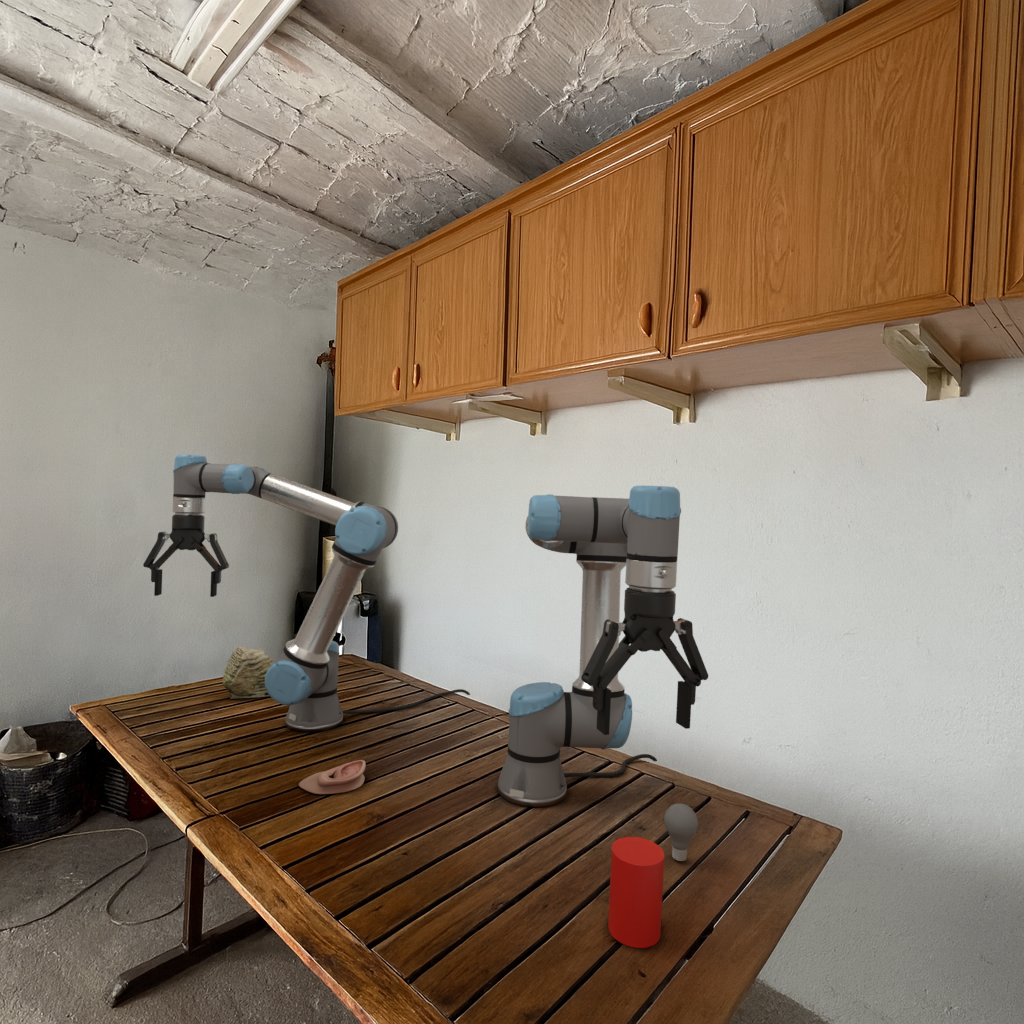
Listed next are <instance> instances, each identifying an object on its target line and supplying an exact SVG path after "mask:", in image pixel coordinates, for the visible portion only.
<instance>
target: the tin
mask: <svg viewBox="0 0 1024 1024" xmlns="http://www.w3.org/2000/svg"><path fill="white" fill-rule="evenodd" d="M610 856H611V857H610V875H609V876H610V878H609V880H610V881H609V897H608V898H609V899H608V900H609V901H608V916H607V917H608V918H607V920H608V921H607V928H608V932H609V934H610V935H611V937H613V938H614V939H615V940H616V941H617V942H619V943H621V944H622V945H625V946H627V947H630V948H636V949H646V948H647V949H648V948H650V947H653V946H655V945H657V943H659V941H660V939H661V933H662V915H663V914H662V913H663V897H664V896H663V893H664V875H665V874H664V870H665V852H664V849H662V847H661V846H660V845H658V844H657V843H656V842H654V841H651V840H649V839H647V838H642V837H637V836H625V837H624V836H623V837H620V838H618V839H616V840H614V842H613V843H612V845H611V854H610Z"/></svg>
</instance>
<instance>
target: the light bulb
mask: <svg viewBox="0 0 1024 1024" xmlns="http://www.w3.org/2000/svg"><path fill="white" fill-rule="evenodd" d="M663 822H664V828H665V829H666V831H667V833H668V835H669V838H670V844H671V846H672V847H671V848H672V849H671V857H672V858H673V859H674V860H676V861H678V862H684V861H686V860H687V855H688V848H689V846H690V844H691V843H690V842H691V841H692V838H693V837H694V836H695V834H696V833H697V831H698V827H699V820H698V816H697V814H696V812H695V811H694V810H693V809H692V808H691V807H690V806H689V805H688V804H684V803H680V802H679V803H673V804H671V805H670V806H669V807H668V808H667V809H666V811H665V814H664V816H663Z"/></svg>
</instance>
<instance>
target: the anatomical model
mask: <svg viewBox="0 0 1024 1024" xmlns="http://www.w3.org/2000/svg"><path fill="white" fill-rule="evenodd" d="M366 766H367V764H366V761H365V760H364V759H359V760H353V761H350V762H347V763H344V764H341V765H338V766H336V767H332V768H330V769H326V770H324V771H319V772H316V773H314V774H312V775H309V776H307V777H305V778H303V779H302V780H300V781H299V783H298V787H299V788H301V789H303V790H304V791H306V792H309V793H311V794H314V795H330V794H331V795H332V794H340V793H346V792H350V791H353V790H356V789H359V788H360V787H362V786H363V784H364V783H365V779H366V777H365V775H364V772H365V770H366Z"/></svg>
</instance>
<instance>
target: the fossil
mask: <svg viewBox="0 0 1024 1024" xmlns="http://www.w3.org/2000/svg"><path fill="white" fill-rule="evenodd" d="M274 663H275V662H274V660H273V659H272V658H271V657H270V656H269V655H268V654H267V653H266V652H265V650H264V649H263V648H260V647H258V648H251V647H247V646H246V647H245V646H238V647H237V648H236V649H235V650H233V651H232V653H231V656H230V657H229V659H228V660H227V663H226V666H225V668H224V671H223V675H222V676H223V677H222V685H223V687H224V688H225V690H226V691H228V693H229V698H230V699H250V698H264V697H270V695H269V694H268V691H267V689H266V687H265V676H266V673H267V671H268V669H269V668H270V667H271V665H273V664H274Z"/></svg>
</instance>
